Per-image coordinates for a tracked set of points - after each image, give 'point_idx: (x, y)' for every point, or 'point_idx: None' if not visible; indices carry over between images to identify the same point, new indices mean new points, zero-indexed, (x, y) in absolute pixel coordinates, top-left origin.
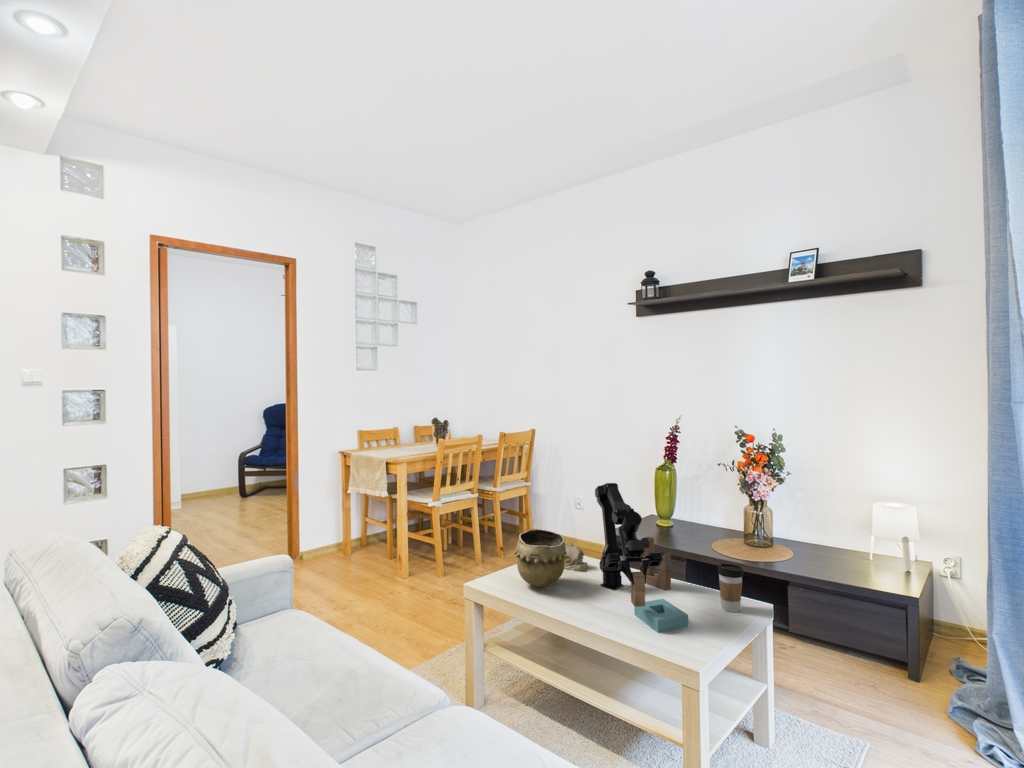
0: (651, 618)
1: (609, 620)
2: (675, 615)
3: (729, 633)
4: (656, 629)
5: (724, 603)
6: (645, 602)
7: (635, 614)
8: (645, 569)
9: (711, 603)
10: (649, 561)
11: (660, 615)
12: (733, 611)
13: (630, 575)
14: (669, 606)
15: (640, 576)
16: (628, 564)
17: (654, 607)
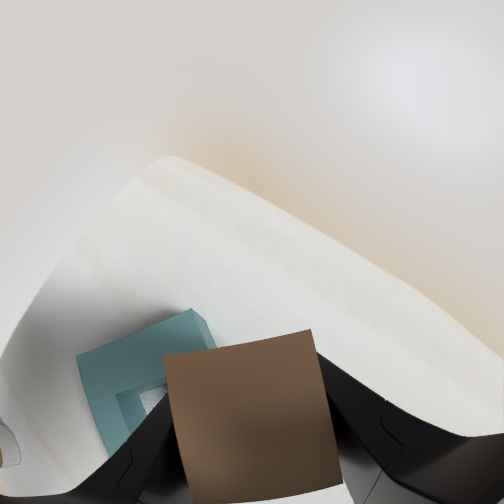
0: None
1: None
2: (114, 353)
3: (34, 317)
4: (206, 326)
5: (4, 441)
6: None
7: None
8: (119, 470)
9: (36, 487)
10: (3, 495)
11: (170, 354)
12: (5, 426)
13: (356, 390)
14: (120, 439)
15: (224, 348)
16: (441, 476)
17: None
